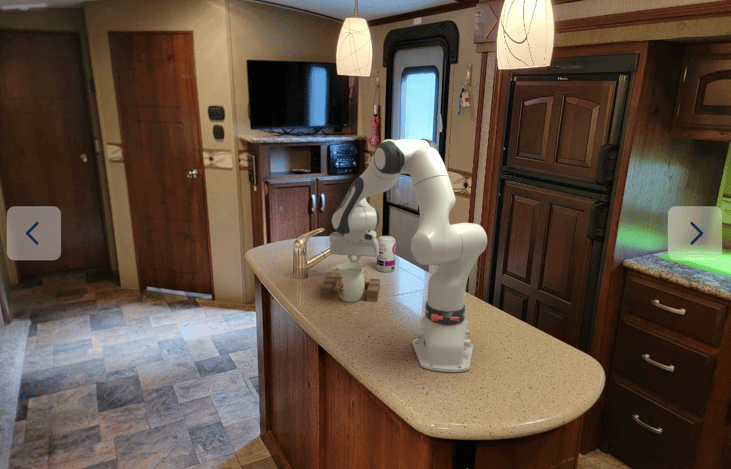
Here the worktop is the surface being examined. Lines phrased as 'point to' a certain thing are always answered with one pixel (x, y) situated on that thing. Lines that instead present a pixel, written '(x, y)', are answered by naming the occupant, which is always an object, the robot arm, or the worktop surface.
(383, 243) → the supplement can
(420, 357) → the robot arm
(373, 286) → the holder
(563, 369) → the worktop surface
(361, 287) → the pitcher
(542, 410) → the worktop surface
